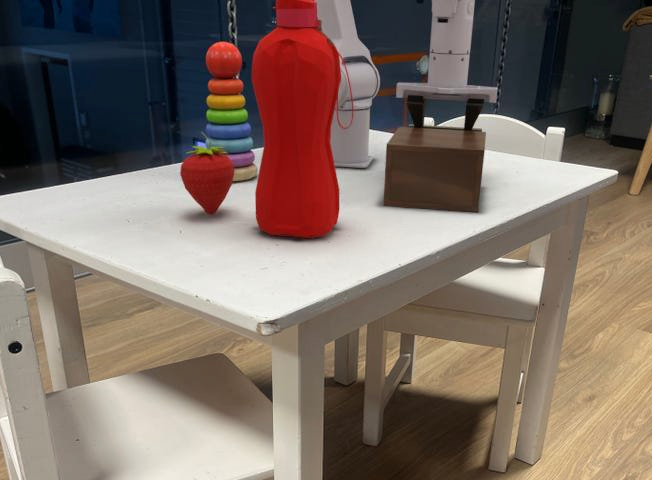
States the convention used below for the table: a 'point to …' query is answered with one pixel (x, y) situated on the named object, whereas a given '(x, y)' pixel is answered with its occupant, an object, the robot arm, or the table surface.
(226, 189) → the strawberry
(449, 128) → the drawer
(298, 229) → the water bottle
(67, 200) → the table surface
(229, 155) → the stacking toy
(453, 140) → the cabinet
